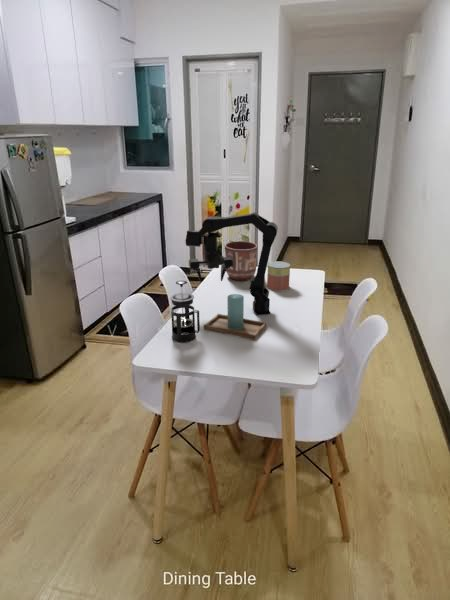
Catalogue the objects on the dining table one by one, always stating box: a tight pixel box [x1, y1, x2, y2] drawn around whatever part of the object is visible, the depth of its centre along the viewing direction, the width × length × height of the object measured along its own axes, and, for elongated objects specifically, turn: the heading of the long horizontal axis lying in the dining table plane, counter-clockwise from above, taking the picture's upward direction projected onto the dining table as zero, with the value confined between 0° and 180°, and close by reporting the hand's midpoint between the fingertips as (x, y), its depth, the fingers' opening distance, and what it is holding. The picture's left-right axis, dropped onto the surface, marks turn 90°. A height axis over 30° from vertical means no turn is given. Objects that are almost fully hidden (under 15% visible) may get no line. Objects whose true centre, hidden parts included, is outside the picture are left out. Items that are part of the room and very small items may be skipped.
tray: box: [203, 313, 268, 341], centre depth 176 cm, size 13×22×2 cm, turn 64°
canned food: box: [266, 260, 291, 292], centre depth 219 cm, size 11×11×12 cm
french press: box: [169, 280, 201, 344], centre depth 165 cm, size 12×9×23 cm
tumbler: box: [227, 293, 245, 330], centre depth 174 cm, size 7×7×13 cm
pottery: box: [224, 240, 258, 282], centre depth 233 cm, size 18×18×18 cm
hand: (211, 281), depth 191 cm, fingers open, 9 cm apart
